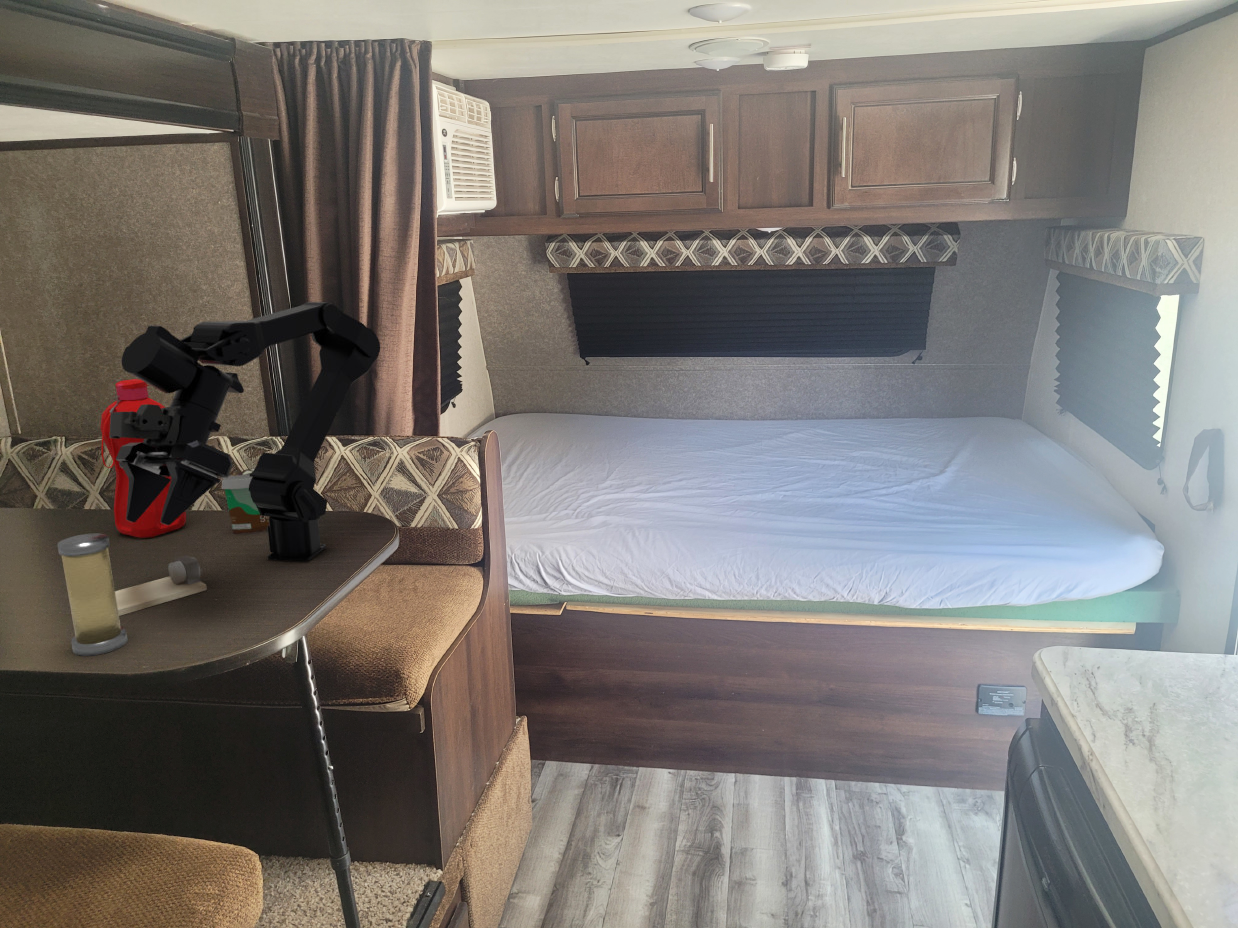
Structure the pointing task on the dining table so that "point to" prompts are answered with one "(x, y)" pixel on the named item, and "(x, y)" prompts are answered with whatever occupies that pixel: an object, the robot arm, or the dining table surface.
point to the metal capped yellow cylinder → (91, 594)
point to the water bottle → (149, 522)
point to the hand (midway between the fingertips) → (147, 522)
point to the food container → (243, 504)
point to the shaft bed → (163, 587)
